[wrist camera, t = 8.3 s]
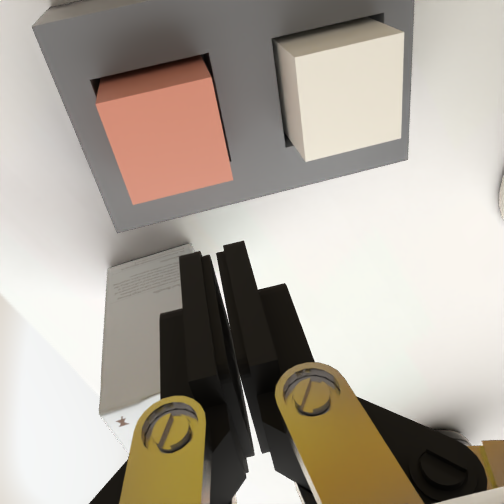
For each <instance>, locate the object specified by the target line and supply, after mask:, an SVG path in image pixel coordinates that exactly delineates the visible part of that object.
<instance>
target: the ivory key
mask: <svg viewBox="0 0 504 504" xmlns="http://www.w3.org/2000/svg"><path fill="white" fill-rule="evenodd" d="M271 40H272V47H273V55H274V63H275V70H276V78H277V86H278V93H279V101H280V109H281V117H282V124H283V131H284V132H285V134H286V135H287V137H288V138H289V139H290V141H291V142H292V144H293V145H294V146H295V148H296V149H297V151H298V152H299V153H300V155H301V156H302V158H303V159H304V160H305V162H308V161H312V160H316V159H320V158H324V157H328V156H332V155H336V154H340V153H344V152H348V151H352V150H356V149H360V148H364V147H368V146H372V145H376V144H380V143H384V142H388V141H392V140H396V139H400V138H401V124H402V91H403V58H404V32H403V31H400V30H398V29H396V28H393V27H391V26H388V25H386V24H383V23H381V22H379V21H376V20H374V19H371V18H369V17H362V18H358V19H354V20H349V21H345V22H340V23H336V24H332V25H327V26H323V27H319V28H314V29H310V30H306V31H301V32H297V33H292V34H288V35H284V36H279V37H275V38H271Z"/></svg>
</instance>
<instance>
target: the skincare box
mask: <svg viewBox="0 0 504 504" xmlns="http://www.w3.org/2000/svg"><path fill="white" fill-rule="evenodd" d="M190 253H194V249H193V246H192V244H185V245H182V246H179V247H176V248H173V249H170V250H166V251H163V252H160V253H157V254H153V255H150V256H147V257H143V258H140V259H137V260H134V261H130V262H127V263H124V264H120V265H117V266H114V267H111V268H108V269H107V285H106V301H105V317H104V332H103V350H102V367H101V392H100V404H99V414H100V416H101V418H102V419H103V421H104V422H105V424H106V425H107V426H108V427H109V429H110V430H111V432H112V433H113V434H114V436H115V437H116V438H117V440H118V441H119V442H120V444H121V445H122V446H123V448H124V449H125V450H126V451H127V452H128V453H129V452H130V447H131V442H132V437H133V432H134V429H135V426H136V424H137V421H138V420H139V418H140V417H141V415H142V414H143V412H144V411H145V410H147V409H148V408H149V407H150V406H151V405H152V404H154V403H156V402H158V401H159V400H160V333H159V318H160V314H161V313H165V312H169V311H173V310H177V309H181V308H182V295H181V281H180V267H179V256H181V255H186V254H190Z"/></svg>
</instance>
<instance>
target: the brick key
mask: <svg viewBox="0 0 504 504" xmlns="http://www.w3.org/2000/svg"><path fill="white" fill-rule="evenodd" d="M95 104H96V107H97V110H98V113H99V115H100V118H101V121H102V123H103V126H104V129H105V131H106V134H107V137H108V139H109V142H110V145H111V147H112V150H113V153H114V155H115V158H116V161H117V164H118V166H119V169H120V172H121V174H122V177H123V180H124V182H125V185H126V188H127V190H128V193H129V196H130V198H131V201H132V204H133V205H135V204H139V203H143V202H147V201H151V200H155V199H159V198H163V197H167V196H171V195H175V194H179V193H184V192H188V191H192V190H196V189H200V188H204V187H208V186H212V185H216V184H220V183H224V182H228V181H232V180H233V176H232V171H231V167H230V162H229V157H228V152H227V148H226V143H225V138H224V134H223V129H222V124H221V119H220V115H219V110H218V105H217V101H216V96H215V91H214V87H213V82H212V77H211V75H210V73H209V71H208V69H207V67H206V65H205V63H204V61H203V59H202V57H201V55H196V56H192V57H188V58H183V59H179V60H175V61H170V62H166V63H161V64H157V65H153V66H148V67H144V68H140V69H135V70H131V71H127V72H122V73H118V74H113V75H109V76H105V77H101V79H100V84H99V89H98V94H97V98H96V103H95Z"/></svg>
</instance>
